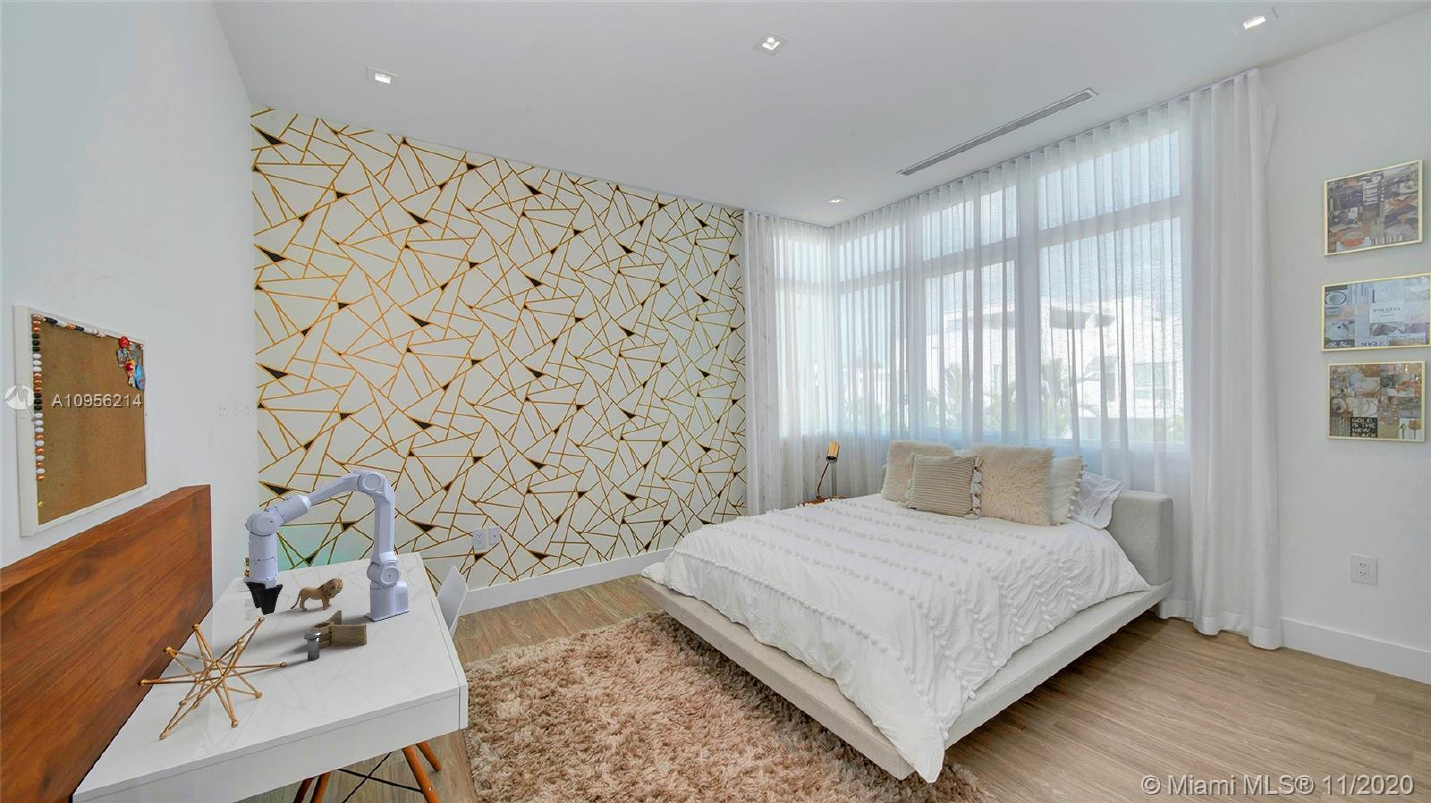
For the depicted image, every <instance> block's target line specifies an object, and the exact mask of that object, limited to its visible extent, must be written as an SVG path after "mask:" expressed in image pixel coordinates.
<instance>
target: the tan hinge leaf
mask: <svg viewBox="0 0 1431 803" xmlns="http://www.w3.org/2000/svg"><path fill="white" fill-rule="evenodd" d="M316 630H321V631H322V634H326V633H329V632H332V638H329V639H326V640H324V641H319V648H320V649H322V648H326V647H329V646H366V645H367V644H368V642H367V640H368V639H367V638H368V637H367V635H368V634H367V624H342V625H334V622H333V621H327V620H326V621H322V622H318V623H315V624H313V625H311V626H310V627H309V632H311V631H316Z"/></svg>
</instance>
